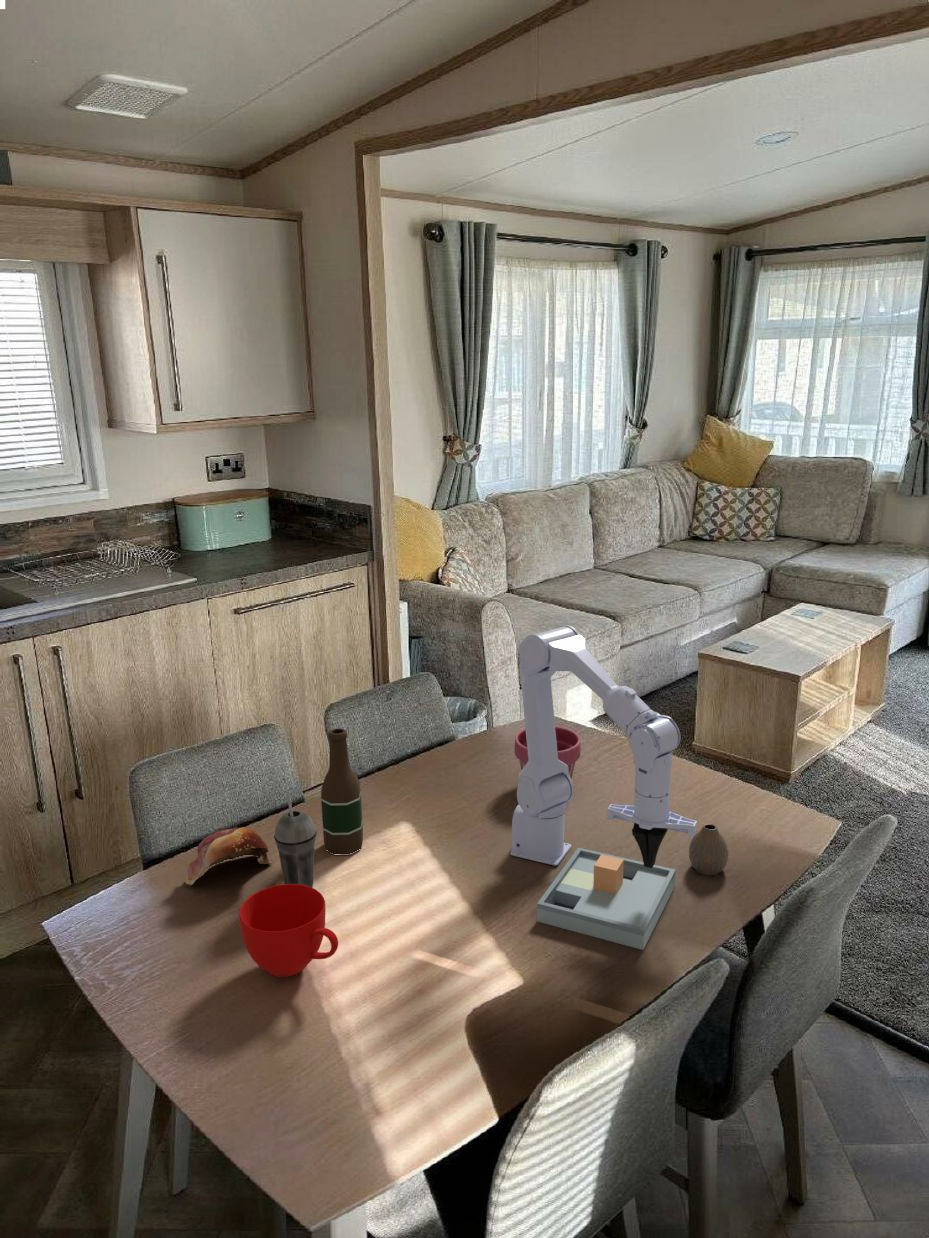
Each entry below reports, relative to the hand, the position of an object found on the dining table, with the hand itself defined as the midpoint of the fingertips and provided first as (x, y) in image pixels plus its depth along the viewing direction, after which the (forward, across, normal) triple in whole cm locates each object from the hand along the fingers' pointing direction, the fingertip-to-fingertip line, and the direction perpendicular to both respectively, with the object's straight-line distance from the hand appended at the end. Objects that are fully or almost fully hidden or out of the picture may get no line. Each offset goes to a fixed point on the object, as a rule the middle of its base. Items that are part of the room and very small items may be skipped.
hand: (649, 864), depth 151 cm
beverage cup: (+8, -57, -21) cm, 61 cm away
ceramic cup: (+9, -45, -38) cm, 59 cm away
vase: (+9, +6, +17) cm, 20 cm away
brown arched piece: (+9, -71, -22) cm, 75 cm away
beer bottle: (+8, -59, -4) cm, 59 cm away
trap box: (+8, -7, -1) cm, 11 cm away
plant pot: (+8, -32, +34) cm, 47 cm away
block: (+6, -7, 0) cm, 9 cm away
